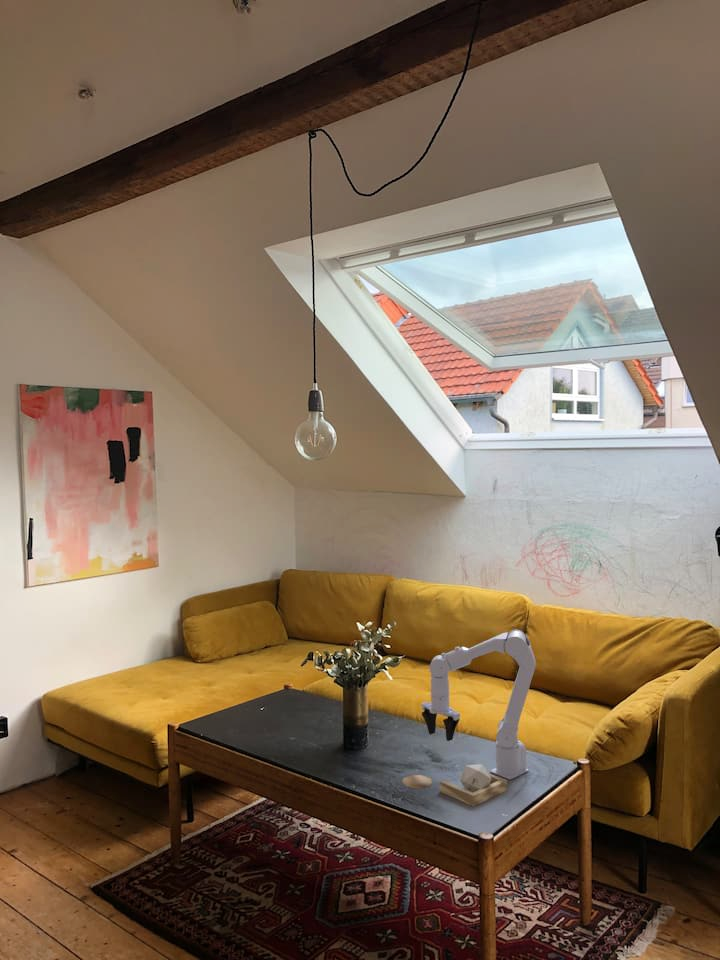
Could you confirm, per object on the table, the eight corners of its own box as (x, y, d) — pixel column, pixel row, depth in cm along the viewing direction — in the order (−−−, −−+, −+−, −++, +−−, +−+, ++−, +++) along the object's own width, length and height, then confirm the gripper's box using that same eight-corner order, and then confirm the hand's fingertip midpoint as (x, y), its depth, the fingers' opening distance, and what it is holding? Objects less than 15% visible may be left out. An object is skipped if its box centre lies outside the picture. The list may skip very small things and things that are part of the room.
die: (454, 792, 230) (459, 775, 224) (466, 769, 236) (471, 752, 230) (480, 806, 228) (485, 789, 222) (491, 783, 234) (496, 765, 227)
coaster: (416, 774, 243) (416, 772, 243) (437, 783, 237) (437, 781, 237) (396, 782, 238) (396, 781, 238) (417, 792, 231) (417, 790, 231)
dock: (473, 776, 240) (473, 767, 240) (507, 790, 230) (506, 780, 230) (439, 791, 230) (439, 781, 230) (473, 806, 220) (473, 795, 220)
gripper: (414, 692, 249) (415, 733, 250) (448, 702, 238) (449, 746, 239) (430, 687, 254) (430, 728, 254) (463, 697, 243) (464, 740, 243)
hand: (440, 736), depth 247 cm, fingers open, 7 cm apart
